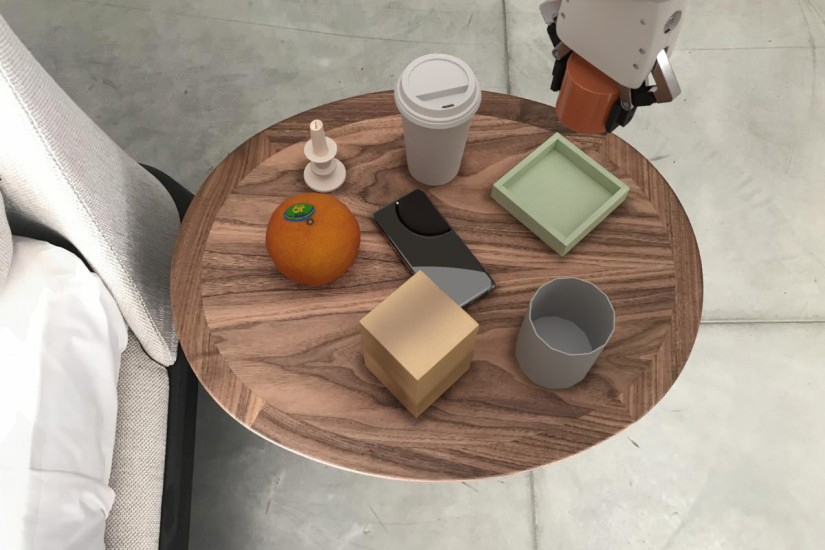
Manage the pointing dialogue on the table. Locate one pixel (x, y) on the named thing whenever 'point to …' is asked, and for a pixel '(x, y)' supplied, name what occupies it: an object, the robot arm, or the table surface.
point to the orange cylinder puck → (585, 96)
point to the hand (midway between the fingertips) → (589, 102)
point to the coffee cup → (436, 115)
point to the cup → (564, 332)
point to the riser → (418, 342)
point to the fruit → (313, 238)
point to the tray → (559, 193)
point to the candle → (322, 161)
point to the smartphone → (433, 247)
